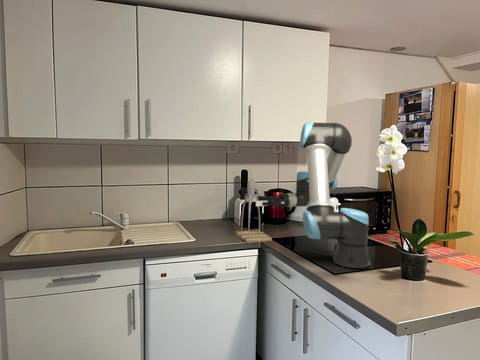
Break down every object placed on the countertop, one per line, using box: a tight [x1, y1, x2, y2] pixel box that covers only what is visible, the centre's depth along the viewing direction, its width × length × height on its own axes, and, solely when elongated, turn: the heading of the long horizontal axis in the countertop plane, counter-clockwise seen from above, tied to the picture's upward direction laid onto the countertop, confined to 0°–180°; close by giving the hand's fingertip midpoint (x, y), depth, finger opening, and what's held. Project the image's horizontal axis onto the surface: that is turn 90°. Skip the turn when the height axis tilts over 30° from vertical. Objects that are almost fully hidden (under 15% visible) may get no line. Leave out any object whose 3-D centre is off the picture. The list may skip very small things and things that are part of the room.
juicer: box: [240, 178, 261, 238], centre depth 187 cm, size 10×9×30 cm
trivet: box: [234, 229, 273, 244], centre depth 188 cm, size 18×14×2 cm
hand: (251, 201), depth 186 cm, fingers open, 13 cm apart
